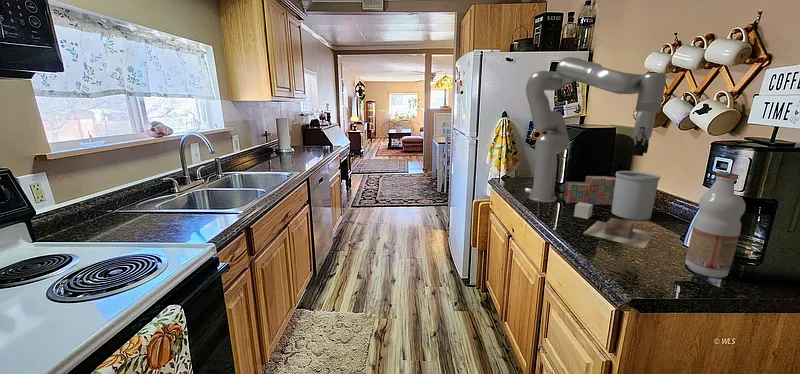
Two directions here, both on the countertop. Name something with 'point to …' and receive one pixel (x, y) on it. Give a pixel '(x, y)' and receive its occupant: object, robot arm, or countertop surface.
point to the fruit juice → (716, 228)
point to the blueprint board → (635, 239)
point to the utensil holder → (634, 194)
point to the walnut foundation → (619, 227)
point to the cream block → (583, 210)
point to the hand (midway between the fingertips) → (639, 154)
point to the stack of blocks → (591, 190)
